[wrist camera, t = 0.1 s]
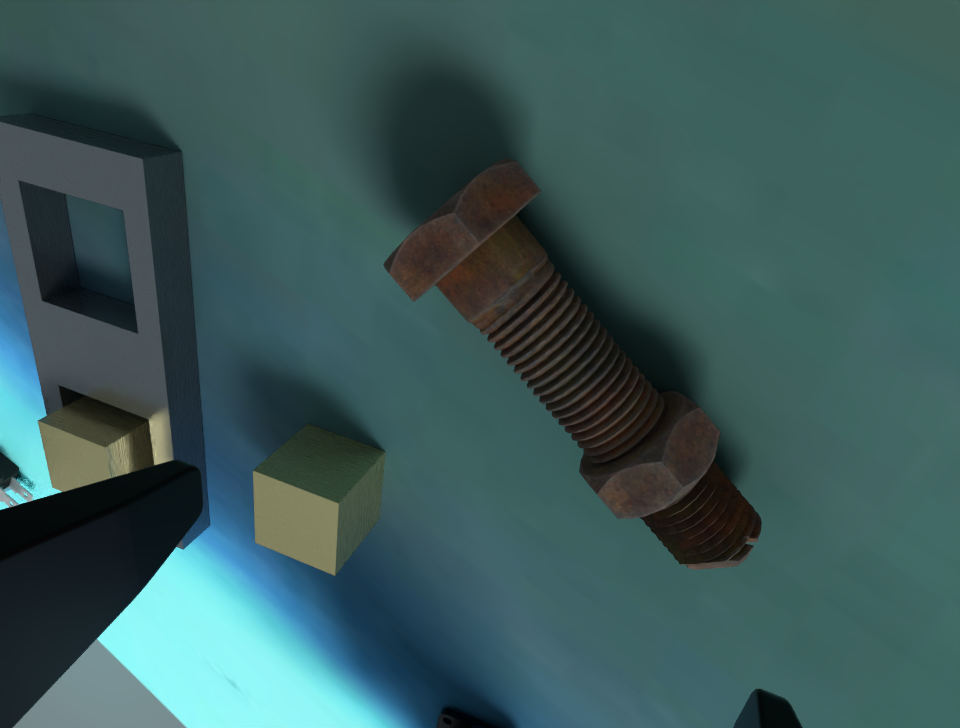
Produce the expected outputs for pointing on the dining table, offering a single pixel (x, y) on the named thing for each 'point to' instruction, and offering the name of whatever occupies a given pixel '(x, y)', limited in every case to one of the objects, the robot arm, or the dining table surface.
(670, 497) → the bolt
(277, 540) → the beige wood block
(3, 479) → the push button
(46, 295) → the rectangular frame
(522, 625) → the dining table surface
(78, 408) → the tan wooden cube
